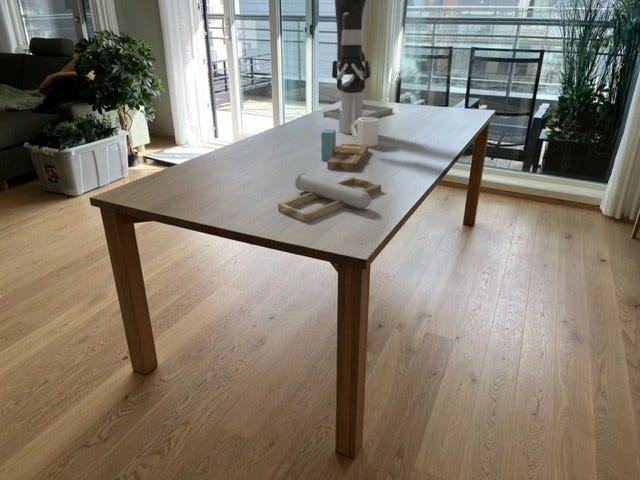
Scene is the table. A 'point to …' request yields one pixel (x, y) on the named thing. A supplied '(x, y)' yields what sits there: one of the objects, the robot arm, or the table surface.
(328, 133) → the teal ice pop
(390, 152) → the table surface
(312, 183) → the tube
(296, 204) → the tube rack
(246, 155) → the table surface
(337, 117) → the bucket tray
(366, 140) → the mug
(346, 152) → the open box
